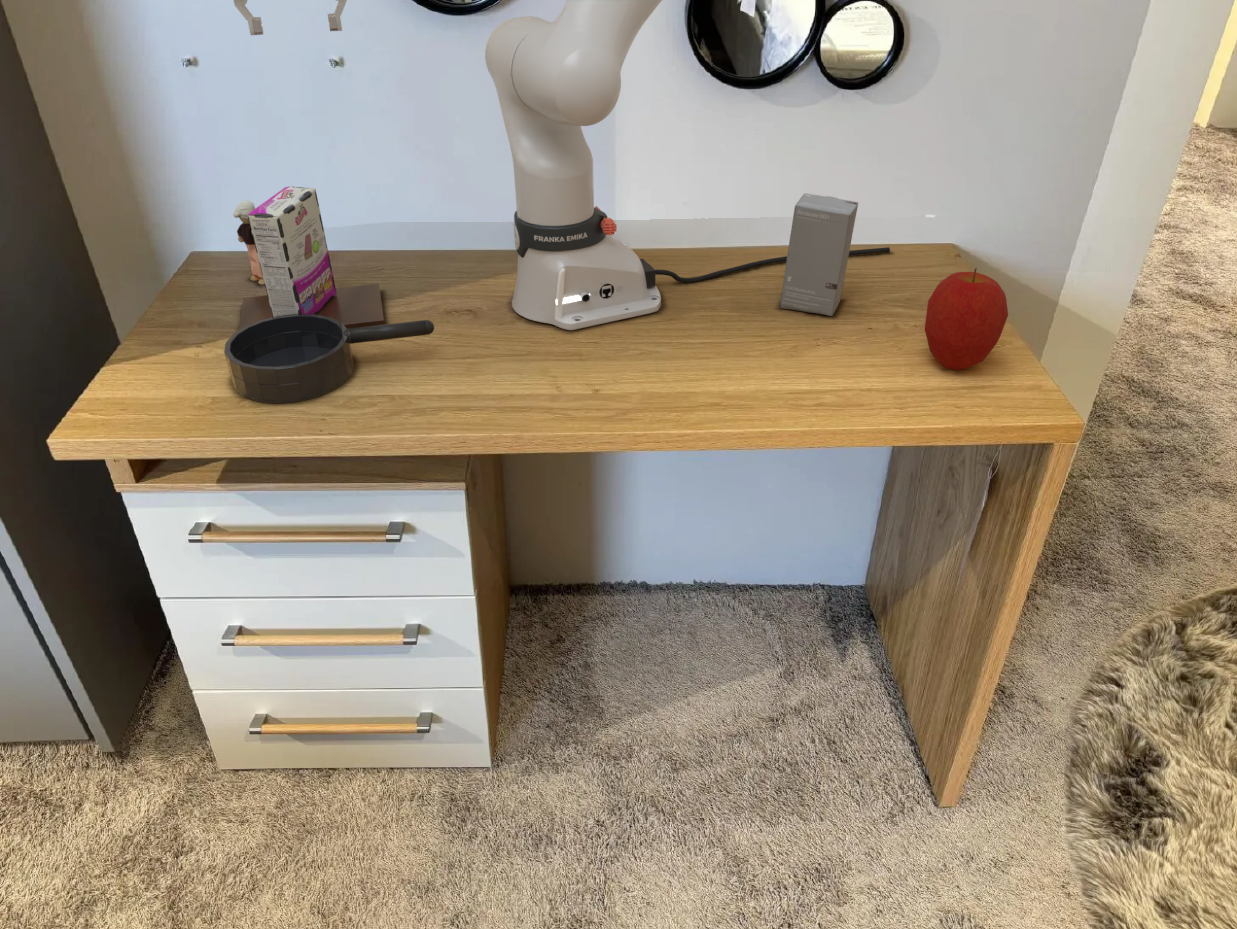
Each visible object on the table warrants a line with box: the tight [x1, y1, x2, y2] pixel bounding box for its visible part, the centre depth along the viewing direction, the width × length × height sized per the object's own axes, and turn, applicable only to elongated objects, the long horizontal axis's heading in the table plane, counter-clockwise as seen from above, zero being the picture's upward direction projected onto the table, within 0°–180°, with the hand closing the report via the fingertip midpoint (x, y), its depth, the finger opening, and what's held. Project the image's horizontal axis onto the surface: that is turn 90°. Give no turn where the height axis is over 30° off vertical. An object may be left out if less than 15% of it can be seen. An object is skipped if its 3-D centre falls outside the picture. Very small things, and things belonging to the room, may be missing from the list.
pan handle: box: [343, 319, 435, 345], centre depth 128 cm, size 12×2×2 cm, turn 105°
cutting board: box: [238, 283, 385, 331], centre depth 141 cm, size 20×13×2 cm, turn 105°
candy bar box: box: [247, 185, 337, 317], centre depth 135 cm, size 11×5×16 cm, turn 169°
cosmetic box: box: [779, 192, 859, 317], centre depth 140 cm, size 8×7×16 cm
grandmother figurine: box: [233, 200, 265, 286], centre depth 149 cm, size 8×4×13 cm, turn 57°
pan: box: [223, 314, 354, 404], centre depth 126 cm, size 15×15×5 cm
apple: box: [924, 267, 1009, 371], centre depth 125 cm, size 10×10×14 cm
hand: (297, 32), depth 119 cm, fingers open, 8 cm apart
